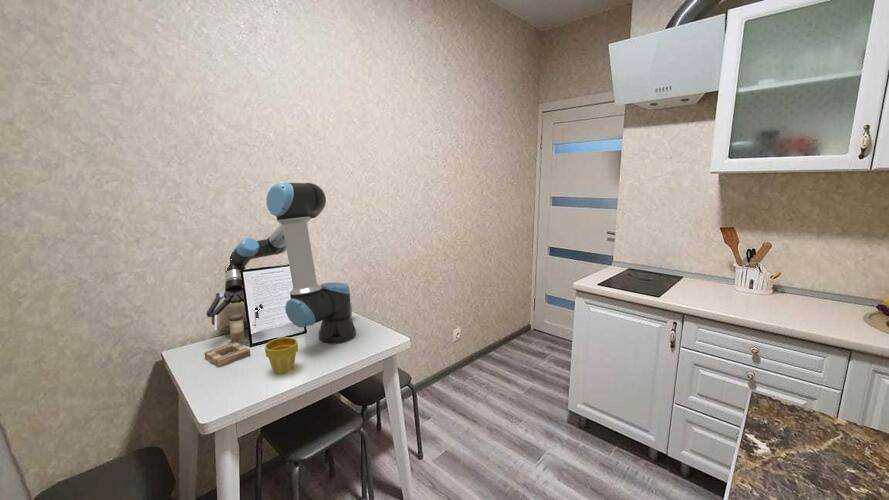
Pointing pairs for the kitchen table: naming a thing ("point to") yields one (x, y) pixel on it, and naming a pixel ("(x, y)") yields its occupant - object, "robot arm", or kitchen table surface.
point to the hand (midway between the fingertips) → (235, 328)
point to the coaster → (242, 343)
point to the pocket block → (234, 347)
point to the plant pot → (282, 354)
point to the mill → (236, 327)
